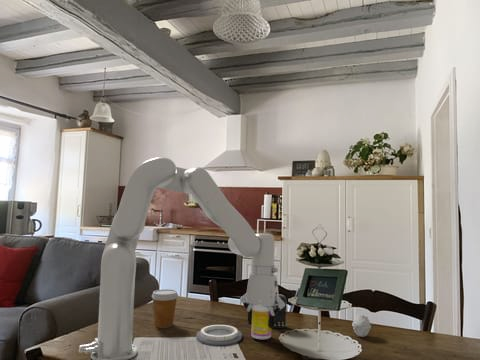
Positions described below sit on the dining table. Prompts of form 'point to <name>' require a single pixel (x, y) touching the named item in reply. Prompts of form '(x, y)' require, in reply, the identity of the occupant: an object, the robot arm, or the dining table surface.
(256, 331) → the supplement bottle
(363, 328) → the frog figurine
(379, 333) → the dining table surface
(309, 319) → the dining table surface
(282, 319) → the battery
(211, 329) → the round holder
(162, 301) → the disposable coffee cup
